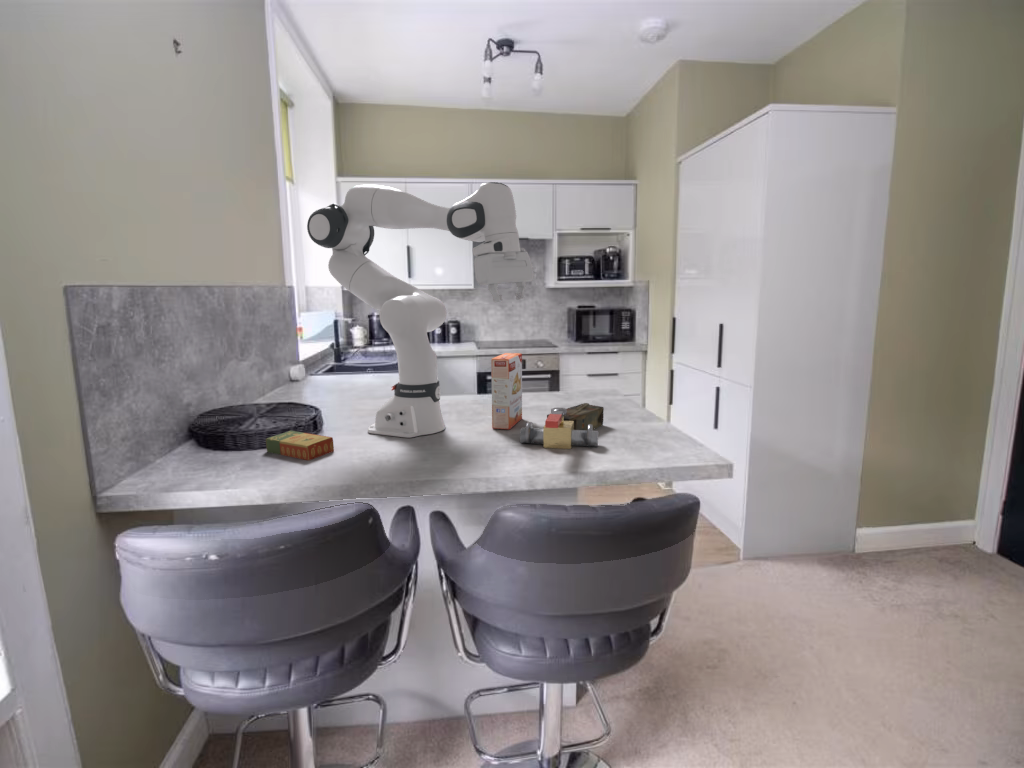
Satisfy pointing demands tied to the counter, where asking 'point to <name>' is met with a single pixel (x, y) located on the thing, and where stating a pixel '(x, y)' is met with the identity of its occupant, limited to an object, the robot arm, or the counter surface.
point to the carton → (300, 445)
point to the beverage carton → (585, 416)
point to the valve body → (559, 435)
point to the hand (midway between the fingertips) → (509, 300)
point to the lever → (555, 417)
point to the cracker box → (506, 390)
